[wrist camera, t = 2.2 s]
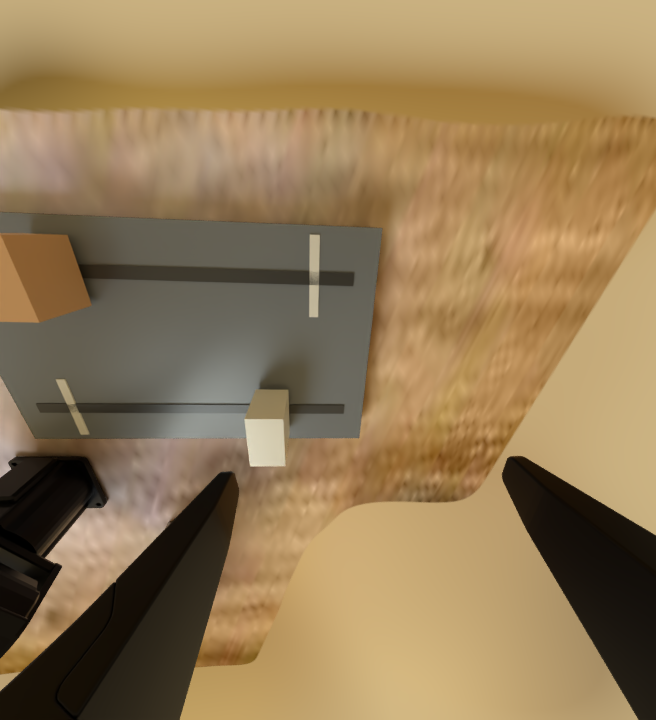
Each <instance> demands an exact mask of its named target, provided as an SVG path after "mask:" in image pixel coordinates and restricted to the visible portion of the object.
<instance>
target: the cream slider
mask: <svg viewBox="0 0 656 720" xmlns="http://www.w3.org/2000/svg"><path fill="white" fill-rule="evenodd" d="M244 420H245V429H246V437H247V445H248V453H249V462H250V466H285V465H286V458H287V450H288V442H289V434H290V423H289V392H288V390H268V389H256V390H255V393H254V395H253V398H252V401H251V403H250V406H249V408H248V411H247V414H246V416H245V419H244Z"/></svg>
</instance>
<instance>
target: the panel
mask: <svg viewBox="0 0 656 720" xmlns="http://www.w3.org/2000/svg"><path fill="white" fill-rule="evenodd" d="M0 233H33V234H60V235H68V238H69V241H70V244H71V246H72V249H73V252H74V255H75V258H76V261H77V264H78V267H79V270H80V272H81V275H82V278H83V281H84V284H85V287H86V290H87V293H88V296H89V298H90V301H91V304H92V306H89V307H86V308H83V309H80V310H77V311H74V312H71V313H68V314H65V315H62V316H58V317H55V318H52V319H49V320H46V321H43V322H40V323H34V322H0V376H1V378H2V380H3V382H4V383H5V385H6V387H7V389H8V391H9V392H10V394H11V396H12V398H13V400H14V401H15V403H16V405H17V407H18V408H19V410H20V412H21V414H22V416H23V417H24V419H25V421H26V423H27V425H28V426H29V428H30V430H31V432H32V434H33V435H34V437H35V439H131V438H247V437H246V429H245V420H244V419H245V416H246V414H247V411H248V408H249V406H250V403H251V401H252V398H253V395H254V393H255V390H256V389H268V390H288V392H289V423H290V434H289V438H359V435H360V426H361V417H362V408H363V399H364V390H365V381H366V372H367V363H368V354H369V345H370V336H371V327H372V318H373V309H374V300H375V291H376V282H377V273H378V264H379V255H380V246H381V237H382V228H368V227H344V226H320V225H296V224H272V223H248V222H224V221H200V220H176V219H152V218H128V217H105V216H81V215H57V214H33V213H9V212H0Z"/></svg>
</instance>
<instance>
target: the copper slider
mask: <svg viewBox="0 0 656 720" xmlns="http://www.w3.org/2000/svg"><path fill="white" fill-rule="evenodd" d="M89 306H92V304H91V301H90V298H89V296H88V293H87V290H86V287H85V284H84V281H83V278H82V275H81V272H80V270H79V267H78V264H77V261H76V258H75V255H74V252H73V249H72V246H71V244H70V241H69V238H68V235H60V234H33V233H0V322H34V323H40V322H43V321H46V320H49V319H52V318H55V317H58V316H62V315H65V314H68V313H71V312H74V311H77V310H80V309H83V308H86V307H89Z"/></svg>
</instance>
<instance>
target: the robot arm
mask: <svg viewBox="0 0 656 720" xmlns="http://www.w3.org/2000/svg"><path fill="white" fill-rule="evenodd" d="M8 464H9V466H10V467H11V470H10V471H9V472H7V473H6V474H5V475H4V476H2V477H1V478H0V658H1V657H2V656H3V655H4V654H5V653H6V652H7V651H8V650H9V649H10V647H11V646H12V645H13V644H14V643H15V641H16V640H17V639H18V638H19V636H20V635H21V634H22V632H23V631H24V630H25V628H26V627H27V625H28V624H29V622H30V620H31V619H32V617H33V615H34V614H35V612H36V610H37V609H38V607H39V605H40V603H41V602H42V600H43V598H44V597H45V595H46V593H47V592H48V590H49V588H50V587H51V585H52V583H53V581H54V580H55V578H56V576H57V575H58V573H59V571H60V570H61V568H62V566H61V565H60V564H58V563H55V564H54V563H53V562H51V561H49V560H47V559H45V557H46V556H47V555H48V554H49V553H50V551H51V550H52V549H53V548H54V547H55V545H56V544H57V543H58V542H59V541H60V539H61V538H62V537H63V536H64V535H65V533H66V532H67V531H68V530H69V529H70V527H71V526H72V525H73V524H74V523H75V521H76V520H77V519H78V518H79V517H80V515H81V514H82V513H83V512H84V511H85V509H86V508H102V507H104V506H105V504H106V503H107V500H106V498H105V496H104V494H103V492H102V490H101V488H100V486H99V483H98V481H97V479H96V477H95V475H94V473H93V471H92V469H91V466H90V464H89V462H88V460H87V459H86V458H84V457H15V458H13V459H12V460H10V461H9V462H8ZM502 479H503V482H504V484H505V486H506V488H507V490H508V493H509V495H510V497H511V499H512V501H513V503H514V505H515V507H516V509H517V511H518V513H519V516H520V517H521V520H522V522H523V524H524V526H525V528H526V530H527V532H528V533H529V535H530V537H531V538H532V540H533V542H534V544H535V545H536V547H537V549H538V550H539V552H540V554H541V556H542V557H543V559H544V561H545V562H546V564H547V566H548V567H549V569H550V571H551V572H552V574H553V576H554V578H555V579H556V581H557V583H558V584H559V586H560V588H561V589H562V591H563V593H564V594H565V596H566V598H567V599H568V601H569V603H570V605H571V606H572V608H573V610H574V611H575V613H576V615H577V616H578V618H579V620H580V622H581V623H582V625H583V627H584V628H585V630H586V632H587V633H588V635H589V637H590V638H591V640H592V641H593V644H594V645H595V647H596V649H597V650H598V652H599V654H600V655H601V657H602V659H603V660H604V662H605V663H606V666H607V667H608V669H609V671H610V672H611V674H612V676H613V677H614V679H615V681H616V682H617V684H618V686H619V688H620V689H621V690H622V693H623V694H624V696H625V697H626V699H627V701H628V703H629V704H630V706H631V708H632V710H633V711H634V713H635V715H636V716H637V718H638V720H656V535H654V534H653V533H651V532H649V531H648V530H646V529H644V528H642V527H641V526H639V525H637V524H636V523H634V522H632V521H631V520H629V519H627V518H626V517H624V516H622V515H621V514H619V513H617V512H615V511H614V510H612V509H611V508H609V507H607V506H606V505H604V504H602V503H601V502H599V501H597V500H596V499H594V498H592V497H591V496H589V495H587V494H585V493H584V492H582V491H580V490H579V489H577V488H575V487H574V486H572V485H570V484H569V483H567V482H565V481H563V480H562V479H560V478H558V477H557V476H555V475H554V474H552V473H550V472H548V471H547V470H545V469H544V468H542V467H540V466H538V465H537V464H535V463H533V462H532V461H530V460H528V459H527V458H525V457H523V456H511V457H509V458H507V461H506V464H505V467H504V470H503V472H502ZM238 497H239V488H238V484H237V481H236V477H235V474H234V472H231V471H230V472H221V473H219V474H218V475H217V476H216V477H215V478H214V479H213V480H212V481H211V482H210V483H209V484H208V485H207V486H206V487H205V488H204V490H203V491H202V492H201V493H200V494H199V495H198V496H197V497H196V498H195V499H194V500H193V501H192V502H191V503H190V504H189V505H188V506H187V507H186V508H185V509H184V510H183V511H182V512H181V513H180V514H179V515H178V516H177V517H176V518H175V519H174V521H173V522H172V523H171V524H170V525H169V526H168V527H167V528H166V529H165V530H164V531H163V532H162V533H161V534H160V535H159V536H158V537H157V538H156V539H155V540H154V541H153V542H152V543H151V544H150V545H149V546H148V547H147V548H146V549H145V550H144V551H143V553H142V554H141V555H140V556H139V557H138V558H137V559H136V560H135V561H134V562H133V563H132V564H131V565H130V566H129V567H128V568H127V569H126V570H125V571H124V572H123V573H122V574H121V575H120V576H119V577H118V578H117V580H116V583H115V582H114V583H112V584H111V585H110V586H109V587H108V589H107V590H106V591H105V592H104V593H103V594H102V595H101V596H100V597H99V598H98V599H97V600H96V601H95V602H94V603H93V604H92V605H91V606H90V607H89V608H88V609H87V610H86V611H85V612H84V613H83V614H82V615H81V616H80V617H79V618H78V619H77V620H76V621H75V622H74V623H73V624H72V625H71V626H70V627H69V628H68V629H67V630H65V631H64V632H63V633H62V634H61V635H60V636H59V637H58V638H57V639H56V640H55V641H54V642H53V643H52V644H51V645H50V646H49V647H48V648H46V649H45V650H44V651H43V652H42V653H41V654H40V655H39V656H38V657H37V658H36V659H35V660H34V661H33V662H31V663H30V664H29V665H28V666H27V667H26V668H25V669H24V670H23V671H22V672H21V673H20V674H19V675H18V676H16V677H15V678H14V679H13V680H12V681H11V682H10V683H9V684H8V685H7V686H6V687H4V688H3V689H2V690H1V691H0V720H180V716H181V712H182V709H183V706H184V702H185V699H186V695H187V691H188V688H189V685H190V681H191V678H192V674H193V671H194V668H195V664H196V661H197V657H198V654H199V650H200V647H201V643H202V640H203V636H204V633H205V629H206V626H207V622H208V619H209V615H210V612H211V608H212V605H213V601H214V598H215V595H216V591H217V588H218V584H219V581H220V577H221V574H222V570H223V567H224V563H225V560H226V556H227V553H228V549H229V545H230V540H231V535H232V529H233V524H234V518H235V513H236V507H237V502H238Z"/></svg>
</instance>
